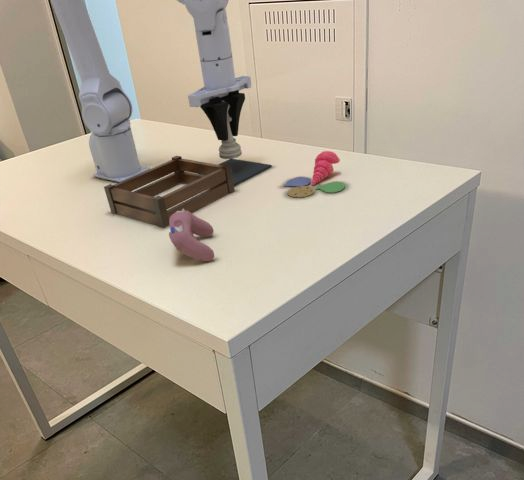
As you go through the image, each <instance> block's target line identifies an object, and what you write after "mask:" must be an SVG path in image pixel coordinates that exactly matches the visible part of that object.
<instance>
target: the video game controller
mask: <svg viewBox="0 0 524 480" xmlns="http://www.w3.org/2000/svg"><path fill="white" fill-rule="evenodd" d="M169 224H170V225H169V230H170V231H169V232H168V237H169V239H170V242H171V244H173V246H174V247H175V249H176V250H177V251H178V252H179V253H182V254H185V255H187V256H188V257H190V258H192V259H194V260H197V261H200V262H210V261H213V260H214V259H215V252H214V250H213V249H212V248H211V246H209V245H207V244H205V243H204V242H202V241H200V240H198V239H197V238H196V236H199V237H203V238H204V237H205V238H206V237H208V238H209V237H212V235H213V234H214V232H215V231H214V227H213V226H212V224H211V223H210V222H208V221H206V220H204V219H202V218H200V217H199V216H196V215H195V214H193V212H192V213H190V212H189V211H185V210H184V209H182V211H177V212H175V213H174V214H172V215H171V216H170V220H169ZM195 235H196V236H195Z"/></svg>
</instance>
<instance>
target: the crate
mask: <svg viewBox="0 0 524 480" xmlns="http://www.w3.org/2000/svg"><path fill="white" fill-rule="evenodd" d="M200 174H202V175H200ZM205 175H206V176H205ZM179 184H184V185H183V186H181V187H179V188H177V189H175V190H173V191H170V192H169V193H166V194H163V195H162V196H161V195H159V194H161V193H162V192H165V191H166V190H169V189H172V188H173V187H175V186H178V185H179ZM103 189H104V192H105V196H106V199H107V203H108V206H109V209H110V213H111V214H114V215H120V216H123V217H126V218H130V219H134V220H138V221H141V222H144V223H149V224H152V225H156V226H158V227H159V228H166V227H169V226H170V224H169V220H170V216H171V215H172V214H174V213H175V212H177V211H182V209H184V210H185V211H189V212H190V213H192V214H193V213H194V212H196V211H198V210H200V209H202V208H203V207H204V208H205V207H206V206H207V205H209V204H211V203H214V202H216V201H217V200H219V199H221V198H223V197H226V196H227V195H229V194H232V193H234V192H235V191H236V190H235V186H234V182H233V175H232V169H231V165H229V164H224V165H218V163H217V164H215V163H211V162H204V161H200V160H199V161H198V160H194V159H187V158H182V156H181V155H175V156H172V157H171V159H170V160H168V161H166V162H163V163H161V164H158V165H155V166H154V167H152V168H150V169H149V170H147V171H145V172H142V173H140V174H138V175H135V176H133V177H131V178H128V179H126V180H124V181H122V182H116V183H115V184H110V183H109V184H107V185H105V186H103ZM156 195H157V196H156Z"/></svg>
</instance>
